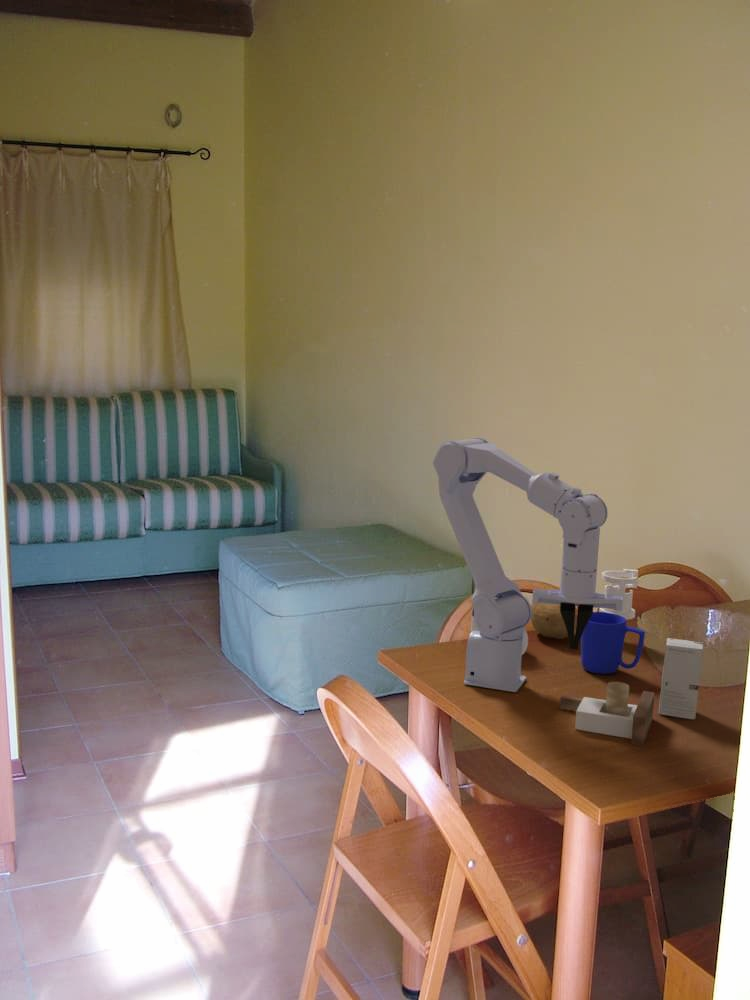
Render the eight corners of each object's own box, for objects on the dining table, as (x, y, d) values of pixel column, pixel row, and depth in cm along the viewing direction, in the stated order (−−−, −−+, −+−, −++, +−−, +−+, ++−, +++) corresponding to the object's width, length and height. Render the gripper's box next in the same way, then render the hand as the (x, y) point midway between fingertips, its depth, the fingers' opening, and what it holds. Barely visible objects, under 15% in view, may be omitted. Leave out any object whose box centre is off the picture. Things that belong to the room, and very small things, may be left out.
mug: (631, 685, 186) (635, 631, 185) (569, 670, 194) (573, 618, 192) (649, 674, 193) (653, 621, 191) (589, 659, 200) (593, 609, 198)
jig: (547, 729, 165) (548, 702, 164) (562, 704, 176) (563, 678, 175) (643, 745, 160) (645, 717, 159) (652, 718, 171) (654, 692, 170)
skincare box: (658, 715, 173) (664, 644, 170) (659, 706, 177) (665, 637, 175) (697, 720, 171) (703, 649, 169) (697, 711, 175) (703, 641, 173)
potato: (540, 648, 206) (543, 608, 205) (520, 627, 220) (522, 590, 218) (588, 647, 208) (591, 608, 206) (564, 626, 221) (567, 589, 220)
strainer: (635, 647, 209) (641, 574, 206) (600, 645, 209) (605, 572, 206) (629, 636, 216) (634, 565, 213) (594, 635, 216) (599, 564, 213)
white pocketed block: (574, 729, 165) (576, 711, 165) (582, 714, 172) (584, 696, 171) (632, 739, 162) (634, 720, 162) (638, 723, 169) (640, 705, 168)
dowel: (602, 726, 166) (605, 686, 165) (606, 718, 169) (609, 680, 168) (624, 729, 164) (627, 690, 163) (627, 722, 168) (630, 683, 166)
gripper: (623, 566, 174) (617, 644, 177) (536, 559, 177) (531, 636, 180) (625, 576, 168) (618, 657, 170) (533, 569, 170) (528, 649, 173)
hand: (573, 647), depth 174 cm, fingers closed
